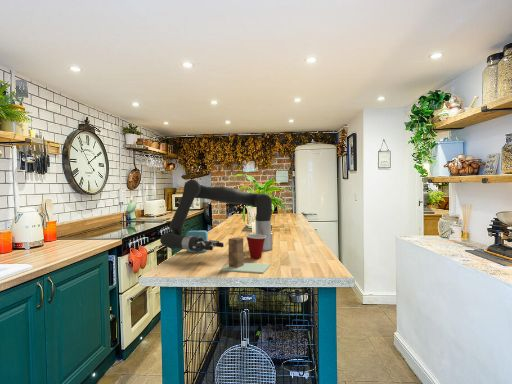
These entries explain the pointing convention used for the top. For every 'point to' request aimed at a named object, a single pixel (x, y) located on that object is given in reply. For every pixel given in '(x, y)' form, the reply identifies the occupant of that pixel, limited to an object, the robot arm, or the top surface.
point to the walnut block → (236, 252)
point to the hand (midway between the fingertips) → (217, 246)
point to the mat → (248, 268)
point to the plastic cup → (255, 245)
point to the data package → (198, 234)
